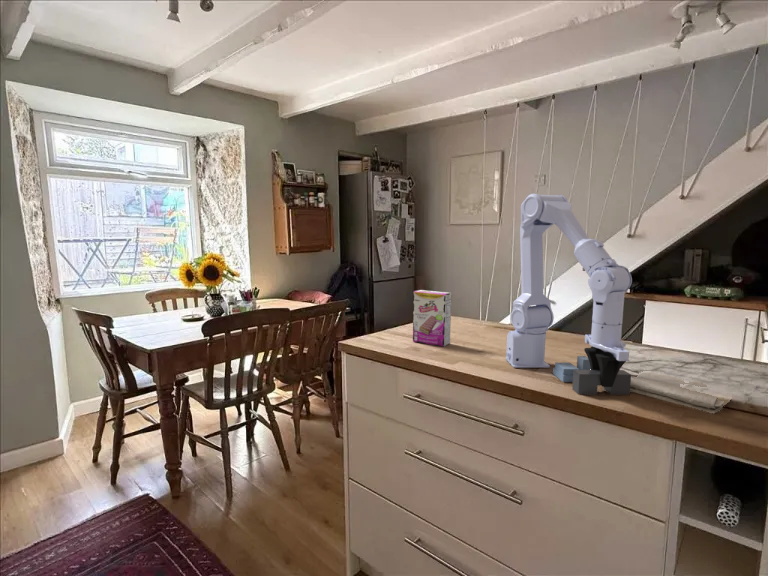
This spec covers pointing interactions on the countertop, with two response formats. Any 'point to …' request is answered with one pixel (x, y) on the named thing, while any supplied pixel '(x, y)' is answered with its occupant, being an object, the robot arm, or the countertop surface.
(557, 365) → the display stand
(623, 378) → the dark grey rectangular block
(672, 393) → the washcloth
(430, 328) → the candy bar box
